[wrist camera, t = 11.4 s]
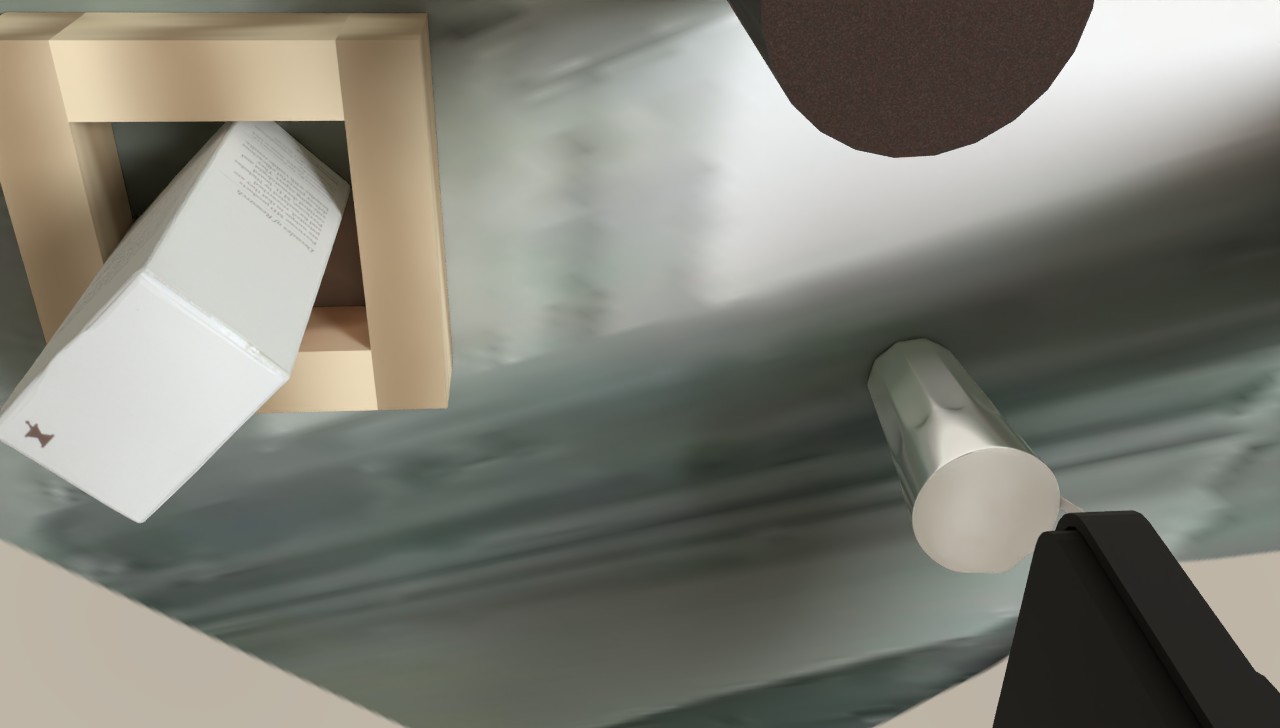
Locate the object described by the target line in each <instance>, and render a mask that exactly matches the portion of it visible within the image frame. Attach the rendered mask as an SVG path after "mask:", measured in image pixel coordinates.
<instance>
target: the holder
mask: <svg viewBox="0 0 1280 728" xmlns="http://www.w3.org/2000/svg"><path fill="white" fill-rule="evenodd" d="M183 121H345V129H346V138H347V147H348V155H349V164H350V173H351V181H352V190H353V199H354V208H355V216H356V225H357V234H358V242H359V251H360V260H361V268H362V277H363V286H364V294H365V303H366V306H347V307H312V311H311V314H310V317H309V320H308V323H307V326H306V329H305V332H304V335H303V338H302V341H301V344H300V347H299V350H298V354H297V357H296V360H295V363H294V366H293V369H292V372H291V375H290V378H289V380H288V381H287V382H286V383H285V384H284V385H283V386H281V387H280V388H279V389H278V390H277V391H276V392H275V393H274V394H273V395H272V396H271V397H270V398H269V399H268V400H267V401H266V402H265V403H264V404H263V405H262V406H261V407H260V408H259V409H258V410H257V411H256V412H255V413H283V412H320V411H358V410H396V409H433V408H448V399H449V391H450V382H451V373H452V364H453V357H452V343H451V329H450V316H449V302H448V288H447V274H446V261H445V247H444V233H443V219H442V206H441V192H440V178H439V164H438V151H437V137H436V123H435V109H434V96H433V82H432V68H431V54H430V41H429V27H428V13H97V12H5V13H3V14H1V15H0V183H1V186H2V190H3V193H4V197H5V200H6V204H7V207H8V211H9V214H10V218H11V221H12V225H13V228H14V232H15V235H16V239H17V242H18V246H19V249H20V253H21V256H22V260H23V263H24V267H25V270H26V274H27V278H28V281H29V285H30V288H31V292H32V295H33V299H34V302H35V306H36V309H37V313H38V316H39V320H40V323H41V327H42V330H43V334H44V337H45V341H46V344H48V343H49V341H50V340H51V339H52V337H53V335H54V334H55V333H56V331H57V330H58V329H59V327H60V326H61V324H62V323H63V322H64V320H65V319H66V317H67V316H68V315H69V313H70V312H71V310H72V309H73V308H74V306H75V305H76V303H77V302H78V301H79V299H80V298H81V296H82V295H83V293H84V292H85V291H86V289H87V288H88V286H89V285H90V284H91V282H92V281H93V279H94V278H95V276H96V275H97V273H98V272H99V271H100V269H101V268H102V266H103V265H104V264H105V262H106V261H107V259H108V258H109V256H110V255H111V254H112V252H113V251H114V249H115V248H116V247H117V245H118V244H119V243H120V241H121V240H122V238H123V237H124V235H125V234H126V233H127V231H128V230H129V228H130V227H131V226H132V224H133V219H132V214H131V210H130V205H129V201H128V197H127V192H126V188H125V183H124V179H123V174H122V170H121V165H120V161H119V157H118V152H117V148H116V143H115V139H114V134H113V130H112V125H111V122H183Z"/></svg>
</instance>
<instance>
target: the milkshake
mask: <svg viewBox="0 0 1280 728" xmlns="http://www.w3.org/2000/svg"><path fill="white" fill-rule="evenodd" d="M867 385H868V389H869V391H870V394H871V397H872V400H873V403H874V406H875V409H876V412H877V415H878V417H879V420H880V423H881V426H882V429H883V432H884V435H885V438H886V441H887V444H888V446H889V449H890V452H891V455H892V458H893V461H894V465H895V468H896V472H897V475H898V479H899V483H900V486H901V490H902V493H903V497H904V500H905V503H906V507H907V510H908V514H909V517H910V520H911V524H912V527H913V530H914V534H915V536H916V539H917V541H918V543H919V545H920V546H921V548H922V549H923V550H924V551H925V552H926V553H927V554H928V555H929V556H930V557H931V558H932V559H933V560H934V561H936V562H937V563H938V564H940V565H941V566H943V567H945V568H947V569H950V570H953V571H956V572H962V573H1003V572H1006V571H1008V570H1010V569H1011V568H1013V567H1014V566H1015V565H1016V564H1017V563H1018V562H1020V561H1021V560H1022V559H1023V558H1024V557H1026V556H1027V555H1028V554H1030V553H1031V552H1033V551H1034V550H1035V545H1036V542H1037V540H1038V537H1039V536H1040V535H1041V533H1042V532H1046V531H1052V529H1053V527H1054V524H1055V522H1056V519H1057V516H1058V512H1059V508H1060V509H1062V510H1063V511H1065V512H1066V513H1077V512H1085V511H1083V510H1082V509H1080V508H1079V507H1077V506H1076V505H1074V504H1073V503H1071V502H1070V501H1068V500H1067V499H1065V498H1064V497H1062V496H1060V492H1059V487H1058V483H1057V480H1056V478H1055V476H1054V474H1053V473H1052V471H1051V470H1050V469H1049V468H1048V467H1047V466H1046V465H1045V464H1044V462H1043V461H1042V460H1041V459H1040V458H1039V457H1038V456H1037V455H1036V453H1035V452H1034V451H1033V450H1032V449H1031V448H1030V447H1029V446H1028V444H1027V443H1026V442H1025V441H1024V440H1023V439H1022V438H1021V437H1020V436H1019V434H1018V433H1017V432H1016V431H1015V430H1014V429H1013V428H1012V427H1011V425H1010V424H1009V423H1008V422H1007V421H1006V420H1005V418H1004V417H1003V416H1002V415H1001V413H1000V412H999V411H998V410H997V408H996V407H995V406H994V405H993V403H992V402H991V401H990V400H989V399H988V397H987V396H986V395H985V394H984V392H983V391H982V390H981V389H980V388H979V386H978V385H977V384H976V383H975V381H974V380H973V379H972V378H971V377H970V375H969V374H968V373H967V372H966V371H965V369H964V368H963V367H962V366H961V364H960V363H959V362H958V361H957V360H956V358H955V357H954V356H953V355H952V353H951V352H950V351H949V350H948V349H947V348H945V347H943V346H940V345H938V344H936V343H934V342H932V341H930V340H928V339H926V338H921V339H915V340H909V341H902V342H897V343H895V344H894V345H893V346H892V347H890V348H889V349H888V350H887V351H885V352H884V353H883V354H882V355H880V356H879V357H878V358H876V359H875V361H874V364H873V367H872V370H871V373H870V376H869V379H868V382H867Z"/></svg>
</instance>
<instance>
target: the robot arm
mask: <svg viewBox="0 0 1280 728" xmlns="http://www.w3.org/2000/svg"><path fill="white" fill-rule="evenodd" d="M993 728H1280V693H1279V692H1278V691H1277V689H1276V688H1275V687H1274V686H1273V685H1272V684H1271V683H1270V682H1269V681H1268V680H1267V679H1266V677H1264V676H1263V675H1261V674H1260V673H1258V672H1256V671H1255V670H1254V668H1253V667H1252V666H1251V664H1250V663H1249V661H1248V660H1247V658H1246V657H1245V656H1244V654H1243V653H1242V651H1241V650H1240V649H1239V647H1238V646H1237V645H1236V643H1235V642H1234V640H1233V639H1232V638H1231V636H1230V635H1229V633H1228V632H1227V630H1226V629H1225V628H1224V626H1223V625H1222V623H1221V622H1220V621H1219V619H1218V618H1217V616H1216V615H1215V614H1214V612H1213V611H1212V609H1211V608H1210V607H1209V605H1208V604H1207V602H1206V601H1205V600H1204V598H1203V597H1202V596H1201V594H1200V593H1199V591H1198V590H1197V588H1196V587H1195V586H1194V584H1193V583H1192V581H1191V580H1190V579H1189V577H1188V576H1187V574H1186V573H1185V572H1184V570H1183V569H1182V567H1181V566H1180V564H1179V563H1178V562H1177V560H1176V559H1175V557H1174V556H1173V555H1172V553H1171V552H1170V550H1169V549H1168V548H1167V546H1166V545H1165V543H1164V542H1163V541H1162V539H1161V538H1160V536H1159V535H1158V534H1157V532H1156V531H1155V529H1154V528H1153V527H1152V525H1151V524H1150V522H1149V521H1148V520H1147V519H1146V518H1145V517H1144V516H1143V515H1142V514H1141V513H1138V512H1136V511H1133V510H1132V511H1105V512H1077V513H1068V514H1065V515H1063V517H1062V518H1061V519H1060V520H1059V522H1058V524H1057V527H1056V530H1055V531H1046V532H1042V533H1041V535H1040V536H1039V537H1038V540H1037V542H1036V545H1035V550H1034V554H1033V558H1032V562H1031V566H1030V571H1029V575H1028V579H1027V583H1026V588H1025V592H1024V596H1023V600H1022V605H1021V609H1020V613H1019V617H1018V622H1017V626H1016V630H1015V634H1014V638H1013V643H1012V647H1011V651H1010V655H1009V660H1008V664H1007V669H1006V672H1005V677H1004V681H1003V685H1002V690H1001V694H1000V698H999V702H998V706H997V710H996V715H995V719H994V723H993Z"/></svg>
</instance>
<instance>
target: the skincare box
mask: <svg viewBox="0 0 1280 728" xmlns="http://www.w3.org/2000/svg"><path fill="white" fill-rule="evenodd" d="M350 192H351V187H350V186H349V184H348V183H347V182H346V181H345V180H344V179H343V178H341V177H340V176H339V175H338V174H336V173H335V172H334V171H333V170H331V169H330V168H329V167H328V166H327V165H325V164H324V163H323V162H322V161H321V160H319V159H318V158H317V157H316V156H315V155H313V154H312V153H311V152H310V151H309V150H307V149H306V148H305V147H304V146H303V145H301V144H300V143H299V142H298V141H297V140H295V139H294V138H293V137H292V136H291V135H290V134H288V133H287V132H286V131H285V130H284V129H283V128H281V127H280V126H279V125H278V124H277V123H276V122H274V121H226V122H225V123H224V124H223V125H222V126H221V127H220V128H219V130H218V131H217V132H216V133H215V134H214V135H213V136H212V137H211V138H210V139H209V140H208V141H207V142H206V144H205V145H204V146H203V147H202V148H201V149H200V150H199V151H198V152H197V153H196V155H195V156H194V157H193V158H192V159H191V160H190V161H189V162H188V163H187V164H186V165H185V167H184V168H183V169H182V170H181V171H180V172H179V173H178V174H177V175H176V176H175V178H174V179H173V180H172V181H171V182H170V183H169V184H168V186H167V187H166V188H165V189H164V190H163V191H162V192H161V193H160V195H159V196H158V197H157V198H156V199H155V200H154V201H153V202H152V204H151V205H150V206H149V207H148V208H147V209H146V210H145V211H144V212H143V213H142V215H141V216H140V217H139V218H138V219H137V220H136V221H135V222H134V223H133V224H132V226H131V227H130V228H129V230H128V231H127V233H126V234H125V235H124V237H123V238H122V240H121V241H120V243H119V244H118V245H117V247H116V248H115V249H114V251H113V252H112V254H111V255H110V256H109V258H108V259H107V261H106V262H105V264H104V265H103V266H102V268H101V269H100V271H99V272H98V273H97V275H96V276H95V278H94V279H93V281H92V282H91V284H90V285H89V286H88V288H87V289H86V291H85V292H84V293H83V295H82V296H81V298H80V299H79V301H78V302H77V303H76V305H75V306H74V308H73V309H72V310H71V312H70V313H69V315H68V316H67V317H66V319H65V320H64V322H63V323H62V324H61V326H60V327H59V329H58V330H57V331H56V333H55V334H54V335H53V337H52V339H51V340H50V341H49V343H48V344H47V345H46V347H45V348H44V350H43V351H42V352H41V354H40V355H39V357H38V358H37V359H36V361H35V362H34V364H33V365H32V367H31V368H30V369H29V371H28V372H27V373H26V375H25V376H24V377H23V378H22V380H21V381H20V382H19V384H18V385H17V386H16V388H15V389H14V390H13V392H12V394H11V395H10V397H9V398H8V400H7V401H6V402H5V404H4V405H3V407H2V408H1V410H0V441H1V442H3V443H5V444H7V445H8V446H10V447H12V448H13V449H15V450H17V451H18V452H20V453H22V454H23V455H25V456H27V457H28V458H30V459H32V460H33V461H35V462H37V463H38V464H40V465H42V466H43V467H45V468H46V469H48V470H50V471H51V472H53V473H55V474H56V475H58V476H60V477H61V478H63V479H64V480H66V481H67V482H69V483H71V484H72V485H74V486H76V487H77V488H79V489H81V490H82V491H84V492H85V493H87V494H89V495H90V496H92V497H94V498H95V499H97V500H98V501H100V502H102V503H103V504H105V505H107V506H108V507H110V508H112V509H113V510H115V511H117V512H119V513H120V514H122V515H124V516H126V517H128V518H129V519H131V520H133V521H135V522H137V523H143V522H145V521H146V520H147V519H148V518H149V517H150V516H151V515H152V514H153V513H154V512H155V511H156V510H157V509H158V508H159V507H160V506H161V505H162V504H163V503H164V502H165V501H166V500H167V499H169V498H170V497H171V496H172V495H173V494H174V493H175V492H176V491H177V490H178V489H179V488H180V487H181V486H182V485H183V484H184V483H185V482H186V481H187V480H189V479H190V478H191V477H192V476H193V475H194V474H195V473H196V472H197V471H198V470H199V469H200V468H201V467H202V466H203V465H204V463H205V462H206V461H207V460H208V459H209V458H210V457H211V456H212V455H213V454H214V453H215V452H216V451H217V450H218V449H219V448H220V447H221V446H222V445H223V444H224V443H225V442H226V441H227V440H228V439H229V438H230V437H231V436H232V435H233V434H234V433H235V432H236V431H237V430H238V429H239V428H240V427H241V426H242V425H243V424H244V423H245V422H246V421H247V420H248V419H249V418H250V417H251V416H252V415H253V414H254V413H255V412H256V411H257V410H258V409H259V408H260V407H261V406H262V405H263V404H264V403H265V402H266V401H267V400H268V399H269V398H270V397H271V396H272V395H273V394H274V393H275V392H276V391H277V390H278V389H279V388H280V387H281V386H283V385H284V384H285V383H286V382H287V381H288V380H289V378H290V375H291V372H292V369H293V366H294V363H295V360H296V357H297V354H298V350H299V347H300V344H301V341H302V338H303V335H304V332H305V329H306V326H307V323H308V320H309V317H310V314H311V311H312V307H313V305H314V302H315V299H316V296H317V293H318V290H319V287H320V284H321V280H322V277H323V275H324V272H325V269H326V266H327V262H328V259H329V256H330V253H331V250H332V247H333V243H334V241H335V238H336V235H337V231H338V228H339V225H340V222H341V219H342V216H343V213H344V210H345V207H346V203H347V200H348V197H349V194H350Z"/></svg>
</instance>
